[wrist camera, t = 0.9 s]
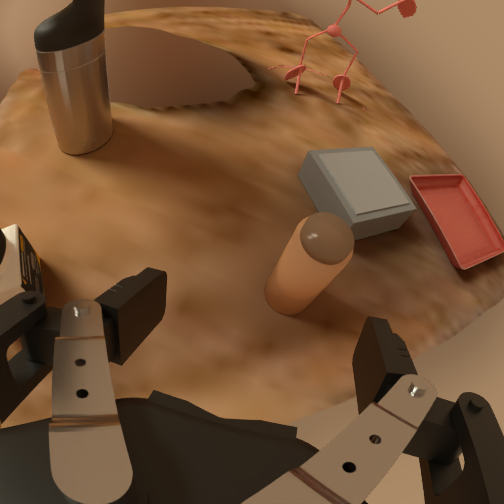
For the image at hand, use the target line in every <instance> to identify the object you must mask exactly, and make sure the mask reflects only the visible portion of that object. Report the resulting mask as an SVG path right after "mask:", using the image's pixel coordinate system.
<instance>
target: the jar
mask: <svg viewBox="0 0 504 504" xmlns="http://www.w3.org/2000/svg"><path fill="white" fill-rule="evenodd" d="M353 247H354V236H353V233H352V231H351V229H350V227H349V226H348V224H347V223H346V222H345V221H344V220H342V219H341V218H340V217H338V216H336V215H334V214H331V213H328V212H317V213H314V214H312V215H311V216H308V217H306V218H304V219H303V220H302V221H301V222H300V223H299V224H298V226H297V228H296V229H295V231H294V233H293V235H292V237H291V239H290V241H289V242H288V244H287V246H286V248H285V250H284V252H283V253H282V255H281V257H280V259H279V261H278V263H277V264H276V266H275V268H274V270H273V272H272V273H271V275H270V277H269V279H268V281H267V283H266V285H265V297H266V300H267V302H268V304H269V305H270V306H271V307H272V308H273V309H274V310H275V311H277V312H278V313H281V314H284V315H295V314H298V313H300V312H302V311H303V310H304V309H305V308H306V307H307V306H308V305H309V304H310V303H311V302H312V301H313V300H314V299H315V298H316V297H317V296H318V295H319V294H320V292H321V291H322V290H323V289H324V288H325V287H326V286H327V285H328V284H329V283H330V282H331V281H332V280H333V279H334V278H335V277H336V275H337V274H338V273H339V272H340V271H341V270H342V269H343V268H344V267H345V266H346V265H347V264H348V262H349V261H350V260H351V258H352V255H353Z"/></svg>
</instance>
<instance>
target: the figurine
mask: <svg viewBox="0 0 504 504" xmlns="http://www.w3.org/2000/svg"><path fill="white" fill-rule="evenodd" d="M357 1H359V2H360V3H362V4H363V5H365V6H366V7H367V8H369V9H370V10H372V11H373V12H374V13H376V14H377V15H378V13H379V14H380V13H382V12H384V11H386V10H388V9H390V8H392V7H394V6H396V5H398V9H399V11H400V13H401V15H402V16H403V17H404V18H405V17H409V16H413V14H414V13H415V12H416V8H417V7H416V3H415V1H414V0H399V1H398V2H396V3H394V4H392V5H390V6H388V7H386V8H384V9H382V10H380V11H378V12H377V11H376V10H374V9H373V8H371V7H370V6H369V5H367V4H366V3H364V2H363V1H361V0H357ZM350 5H351V0H349V2H348V5H347V7H346V8H345V10H344V11H343V13H342V14H341V16H340V17H339V19H338V20H337V22H336V23H335V24H333V25H330V26H329V27H328V28H327V30H325V31H323V32H320V33H318V34H316V35H313V36H311V37H309V38H307V39H306V42H305V46H304V49H303V53H302V57H301V61H300V65H299V66H297V67H295V68H293V69H291V70H290V71H288V72H287V73H286V74H285V81H286V80H288V79H291V78H293V77H295V76H298V78H297V84H296V89H295V94H297V93H298V88H299V82H300V77H301V73H302V72H304V71H305V69H306V68H307V67H306V66H305V65H304V66H303V65H302V61H303V57H304V53H305V49H306V45H307V42H308V40H309V39H311V38H313V37H315V36H318V35H320V34H322V33H325V32H328V34H329V35H330V36H332V37H338V36H339V35H340V36H341V37H342V38H343V39H344V40H345V41H346V42H347V43H348V44H350V46H352V47H353V48H354V49H355V50H356V53H355V55H354V57H353V58H352V60H351V62H350V64H349V66H348V67H347V69H346V71H345V73H344V75H337V76H336V77H335V78H334V79H333V85H334V87H335V86H336V87H335V88H336V89H337V90H339V93H338V98H337V103H339V101H340V96H341V92H342V90H343V89H347V88H348V87H349V86H350V83H351V81H350V79H349V77H347V76H345V75H346V73H347V71H348V69H349V68H350V66H351V64H352V62H353V61H354V59H355V57H356V55H357V53H358V52H357V51H358V50H357V49H356V48H355V47H354V46H353V45H352V44H351V43H350V42H349V41H348V40H347V39H346V38H345V37H343V36H342V35H341V28H340V27H339V26H337V24H338V23H339V21H340V20H341V18H342V17H343V16H344V14H345V13H346V12H347V10H348V9H349V7H350ZM277 66H278V67H293V66H283V65H277ZM272 68H275V67H272ZM269 69H271V68H269ZM308 70H310V69H308ZM311 71H313V70H311ZM315 72H316V71H315ZM318 73H319V72H318ZM321 74H322V73H321ZM323 75H324V74H323ZM363 109H364V107H363Z"/></svg>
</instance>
